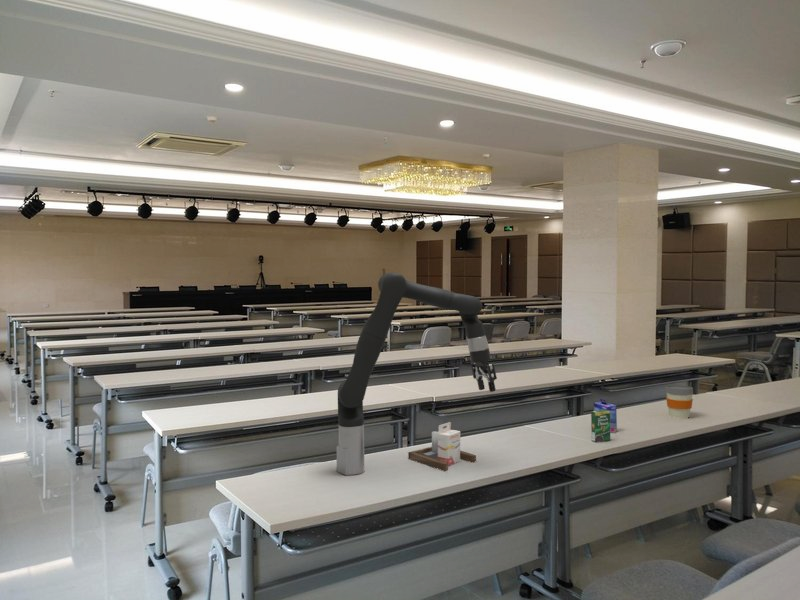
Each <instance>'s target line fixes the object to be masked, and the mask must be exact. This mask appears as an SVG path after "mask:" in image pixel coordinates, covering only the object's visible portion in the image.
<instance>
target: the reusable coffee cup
mask: <svg viewBox="0 0 800 600" xmlns="http://www.w3.org/2000/svg"><path fill="white" fill-rule="evenodd" d="M665 393H666V398H665V400H666V406H667V408H668V415H670V416H671V417H676V418H688V417H689V418H690V414H691V409H692V408H693V407H692V406H693V395H694V388H693V387H692V386H688V385H680V384H670V385H666V386H665ZM670 416H669V417H670ZM671 417H670V418H671ZM676 418H675V419H676ZM689 418H688V419H689Z"/></svg>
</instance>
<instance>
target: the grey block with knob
mask: <svg viewBox="0 0 800 600" xmlns="http://www.w3.org/2000/svg"><path fill="white" fill-rule="evenodd" d="M431 447H432V451H431V452H427V453H423V455H425V456H428V457H431V458H434V459H437V460H438V431H435V430H434V431H431Z"/></svg>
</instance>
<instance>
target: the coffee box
mask: <svg viewBox="0 0 800 600" xmlns="http://www.w3.org/2000/svg"><path fill="white" fill-rule="evenodd" d="M590 414H591V415H590V417H591V420H590V421H591V422H590V423H591V426H590V427H591V442H592V443H593V442H594V443H599V442H600V443H601V442H609V441H611V433H610V411H609V410H599V411H594V410H593V411H590Z"/></svg>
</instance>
